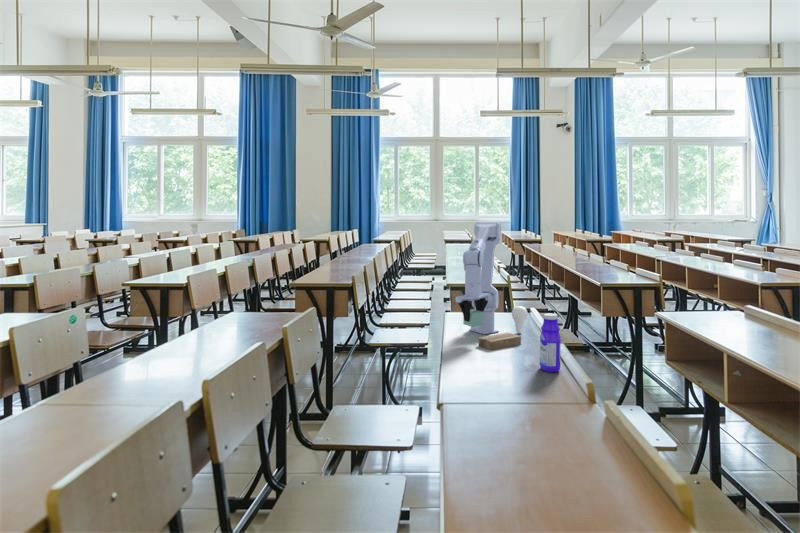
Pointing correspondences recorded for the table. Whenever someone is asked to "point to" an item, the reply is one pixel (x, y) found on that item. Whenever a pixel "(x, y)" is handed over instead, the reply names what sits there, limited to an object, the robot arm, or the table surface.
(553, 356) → the bottle
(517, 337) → the pencil box
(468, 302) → the robot arm
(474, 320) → the teal cube
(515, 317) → the lightbulb
